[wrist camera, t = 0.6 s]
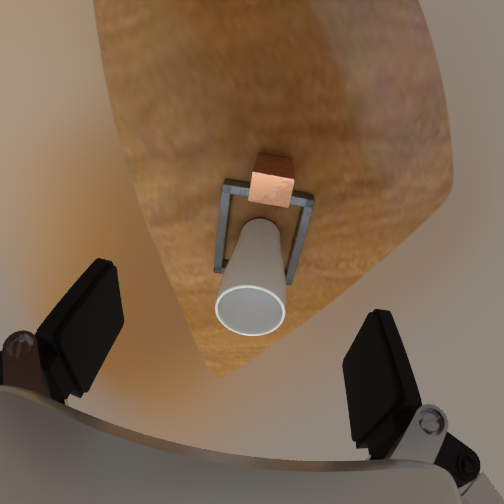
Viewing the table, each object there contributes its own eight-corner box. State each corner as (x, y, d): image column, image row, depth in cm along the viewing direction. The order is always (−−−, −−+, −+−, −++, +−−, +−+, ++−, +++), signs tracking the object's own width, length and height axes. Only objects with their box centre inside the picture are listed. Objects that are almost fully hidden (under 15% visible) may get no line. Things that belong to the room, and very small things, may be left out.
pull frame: (229, 148, 34) (215, 166, 27) (320, 164, 34) (330, 186, 27) (216, 264, 43) (204, 300, 36) (291, 276, 43) (291, 315, 36)
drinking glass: (296, 238, 39) (300, 318, 27) (257, 263, 42) (246, 345, 30) (264, 201, 37) (253, 272, 24) (225, 230, 40) (199, 306, 27)
